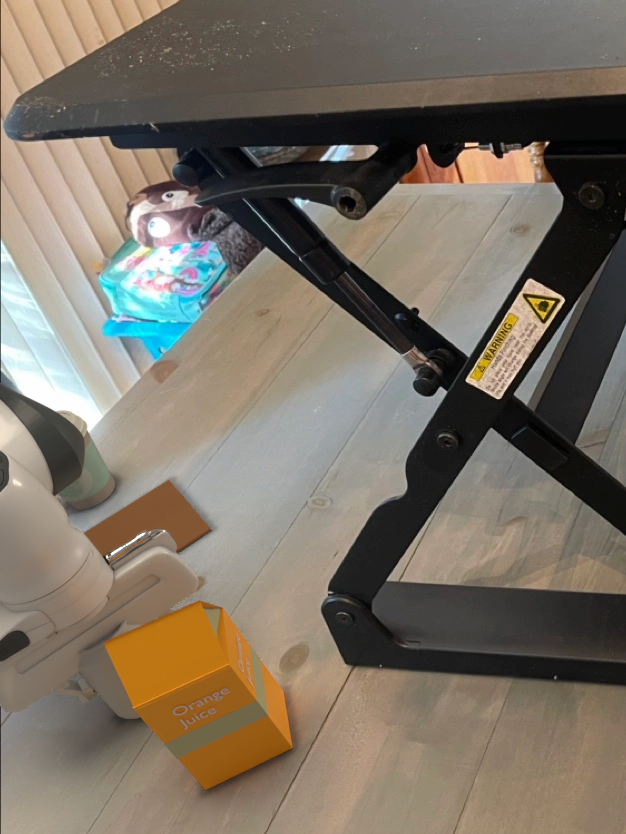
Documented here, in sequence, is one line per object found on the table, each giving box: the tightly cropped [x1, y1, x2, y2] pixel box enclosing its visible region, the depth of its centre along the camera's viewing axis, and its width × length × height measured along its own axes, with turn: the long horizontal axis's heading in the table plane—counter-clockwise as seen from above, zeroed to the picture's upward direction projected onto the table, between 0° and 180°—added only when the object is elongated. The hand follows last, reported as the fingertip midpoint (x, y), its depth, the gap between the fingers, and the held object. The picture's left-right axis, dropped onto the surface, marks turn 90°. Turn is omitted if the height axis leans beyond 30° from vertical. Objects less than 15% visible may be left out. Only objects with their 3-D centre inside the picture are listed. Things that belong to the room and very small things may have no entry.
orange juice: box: [103, 600, 294, 791], centre depth 103 cm, size 8×9×20 cm
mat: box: [83, 479, 212, 556], centre depth 135 cm, size 14×14×1 cm
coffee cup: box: [55, 409, 116, 511], centre depth 139 cm, size 9×8×12 cm
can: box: [77, 621, 141, 720], centre depth 112 cm, size 8×8×12 cm
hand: (129, 667), depth 112 cm, fingers closed on can, 7 cm apart
